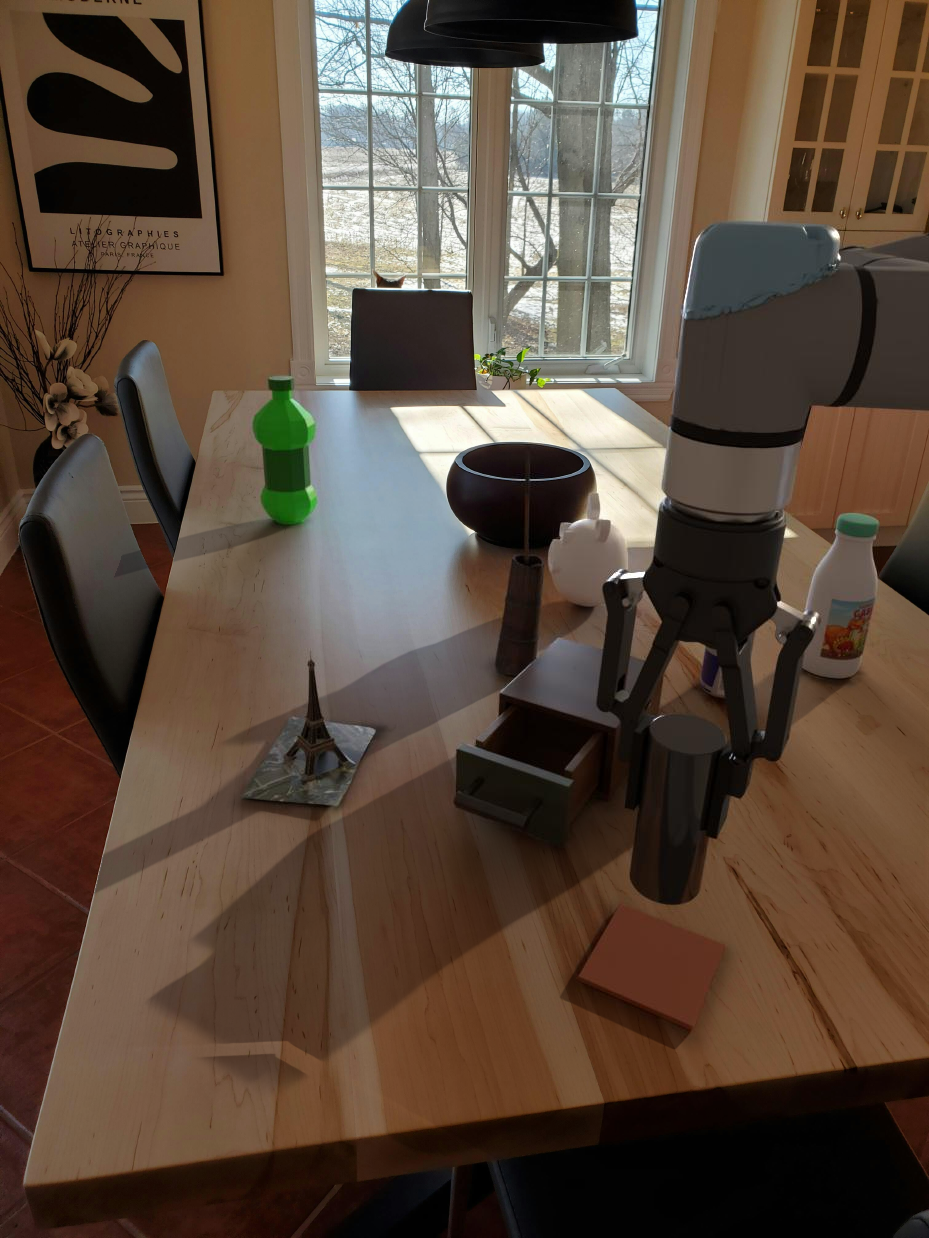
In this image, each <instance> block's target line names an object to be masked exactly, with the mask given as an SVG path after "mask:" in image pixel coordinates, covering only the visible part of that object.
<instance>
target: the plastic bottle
mask: <svg viewBox="0 0 929 1238" xmlns="http://www.w3.org/2000/svg"><path fill="white" fill-rule="evenodd" d="M267 385H268V386H267V387H268V390H269V391H271V396H272V398H271V399H270V400H269V401H268V402H267V403H265V404H264V405H263V406H262V407H261V408H260V409H259V410H258V411H257V412H256V414H254V416H253V419H252V431H253V435H254V438H255V440H256V441H257V442H258V443H259V444H260V446H261V451H262V461H263V462H262V463H263V475H264V476H263V477H264V486H263V488H262V490H261V494H260V503H261V505H262V508H263V509H264V511H265V512H266V514H267V516H269V517H270V518H271V519H273V520H274V521H275V522H276V523H277V524H281V525H297V524H301V523H303V522H305V521H306V518H308V517H309V516H310V515H311V514H312V513H313V512H314V510H315V509H316V507H317V505H318V495H317V493H316V491H315V489H314V487H313V486H312V481H311V464H310V448H309V447H310V446H309V445H310V444H311V443H312V441H313V440H314V439H315V435H316V422H315V419H314V417H313V415H312V414H311V413H310V412H309V411H307V410H306V409H305V408H304V407H303V406H302V405H301V404H300V403H299V402H297V401H296V400H295V399H294V398H293V395H292V391H293V390H294V389H295V378H294V376H292V375H279V374H278V375H272V376H269V377H267Z"/></svg>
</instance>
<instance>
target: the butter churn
mask: <svg viewBox="0 0 929 1238" xmlns="http://www.w3.org/2000/svg"><path fill="white" fill-rule="evenodd" d="M524 459H525V460H524V462H525V463H524V465H525V466H524V469H525V470H524V471H525V472H524V473H525V474H524V475H525V477H524V479H525V480H524V494H525V495H524V539H523V541H524V543H523V547H524V548H523V549H524V552H523V554H522V553H521V554H514V555H513V556H512V558H511V562H510V570H509V575H508V582H507V587H506V588H507V589H506V595H505V598H504V607H503V615H502V621H501V627H500V631H499V639H498V644H497V650H496V655H495V661H494V665H495V666H494V667H496V668H497V669H498V670H499V672H500V673H501V674H504V675H507V676H512V677H517V676H518V675H519V674H520V673H521V672H522V671H523V670H525V669H526V668H527V667H528V666H529V665H530V664H531V663H532V662H533V661H534V660H535V659H536V658H537V656H538V655H537V654H538V642H539V636H540V635H539V630H540V629H539V627H540V620H541V614H542V613H541V612H542V611H541V610H542V603H543V600H542V599H543V589H544V588H543V587H544V577H545V576H544V575H545V573H544V571H545V570H544V568H545V563H544V560H543V559H542V558H541V557H540V556H539V555H538V554H529V553H530V552H529V550H530V549H529V545H530V543H529V540H530V524H529V523H530V487H531V481H530V480H531V479H530V477H531V475H530V474H531V468H530V467H531V446H530V445H526V446H525V458H524Z"/></svg>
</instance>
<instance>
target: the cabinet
mask: <svg viewBox="0 0 929 1238" xmlns="http://www.w3.org/2000/svg"><path fill="white" fill-rule="evenodd" d="M602 654H603V648H601V647H596V646H592V645H590V644H589V645H588V644H585V643H582V642H577V641H574V640H571V639H566V638H562V637H557V638H556V639H555V640H554V641H553V642H551V643H550V645H549V646H548V647H547V648H545V650H543V652H541V653H540V654H539V655H537V656H536V659H535V660H534V661H533V662H532V663H531V664H530V665H529V666H528V667H527V668H526V669H525V670H523V671H522V672H521V673H520V674H519V675H518V676H515V678H514V679H513V680H512V681H511V682H510V683H508V684H507V685H506V686H505V687H504V688H503V689H502V690H501V691H500V692H499V694H498V717H497V718H499V717H500V716H501V715H502V714H503V713H504V712H505V711H506V710H507V709H508V708H509V707H510V706H511V705H512V704H515V705H519V706H522V707H525V708H528V709H532V710H535V711H538V712H541V713H545V714H548V715H551V716H555V717H558V718H561V719H564V720H568V721H571V722H574V723H577V724H581V725H584V726H587V727H590V728H594V729H597V730H600V731H604V732H607V733H608V737H607V746H606V756H605V765H604V774H603V780H602V781H601V782H600V784H599V785H598V786H597V788H596V789H595V791H594V792H593V793H592V795H591V796H592V797H594V798H598V799H601V800H603V801H607V802H609V801H610V799H611V798H612V797H613V795H614V794H615V792H616V791H617V789H619V786H620V785H621V783H622V782H623V781H624V779H625V778H626V776H628V774H629V766H630V764H629V763H626V762H622V761H619V757H618V747H619V746H618V745H619V737H620V728H621V723H620V720H619V719H618V717H617V716H615V715H614V714H612V713H611V712H602V711H600V710H599V709H598V707H597V705H596V700H597V692H598V685H599V677H600V669H601V662H602ZM645 660H646V659H642V658H638V657H634V656H631V655H630V659H629V666H628V673H627V680H626V687H625V692H627V693H628V694H630V693H631V691H632V689H633V687H634V684H635V682H636V680H637V678H638V676H639V674H640V671H641V669H642V667H643V665H644V663H645ZM664 677H665V674H664V675H663V677H662V679H661V681H660V683H659V685H658V687H657V690H656V692H655V694H654V696H653V698H652V700H651V702H650V706H649V707H648V708H647V710H646V711H645V716H646V714H650V715H653V716H656V717H657V718H658V717H659V715H660V714H659V713H660V705H661V700H662V699H661V698H662V691H663V684H664ZM591 796H590V797H591Z"/></svg>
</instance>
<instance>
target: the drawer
mask: <svg viewBox="0 0 929 1238" xmlns="http://www.w3.org/2000/svg"><path fill="white" fill-rule="evenodd" d="M607 737H608V733H607V732H604V731H600V730H597V729H594V728H590V727H587V726H584V725H581V724H577V723H574V722H571V721H568V720H564V719H561V718H558V717H555V716H551V715H548V714H545V713H541V712H538V711H535V710H532V709H528V708H525V707H522V706H519V705H515V704H512V705H511V706H510V707H509V708H508V709H507V710H506V711H505V712H504V713H503V714H502V715H501V716H500V717H499V718H498V717H497V718H496V720H494V721H493V722H492V723H491V724H490V725H489V726H488V727H487V728H486V729H485V730H484V731H483V732H482V733H481V734H480V735H479V736H478V737H477V738H476V739H475V746H473V745H471V744H467V743H465V742H462V743H461V744H460V745H458V746H457V747H456V750H455V751H456V753H455V754H456V755H455V794H454V795H455V796H454V798H453V805H454V808H455V809H459V810H461V811H464V812H467V813H469V814H472V815H475V816H478V817H479V818H483V819H486V820H488V821H490V822H493V823H496V824H498V825H501V826H504V827H507V828H509V829H512V830H515V831H517V832H520V833H523V834H525V835H528V836H530V837H533V838H536V839H539V840H541V841H544V842H547V843H549V844H552V845H554V846H557V847H559V848H562V849H563V848H565V846H567V844H568V842H569V839H570V828H571V824H572V822H573V821H574V819H575V818H576V817H577V816H578V814H579V812H580V811H581V810H582V808H583V807H584V806H585V804H586V803H587V802H588V800H589V799H590V798H591V795H592V793H593V792H594V791H595V789H596V788H597V786H598V785H599V784H600V782H601V781H602V780H603V774H604V765H605V756H606V746H607Z"/></svg>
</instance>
